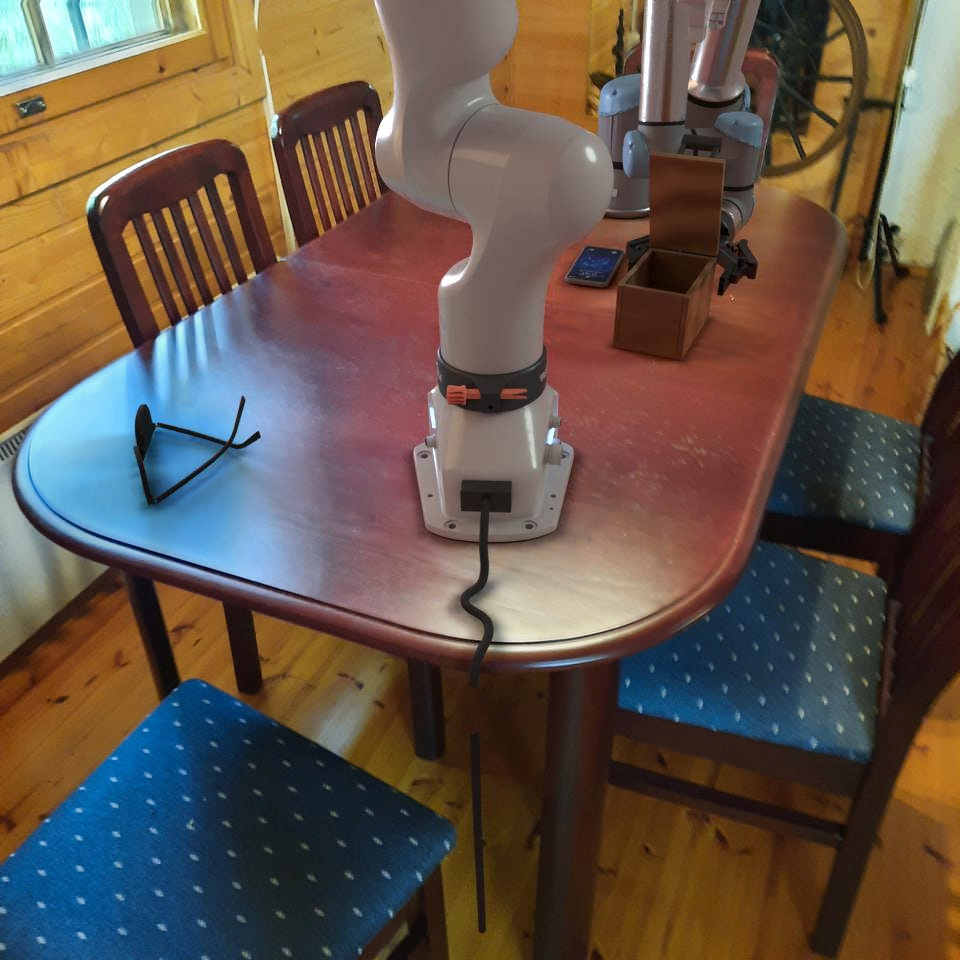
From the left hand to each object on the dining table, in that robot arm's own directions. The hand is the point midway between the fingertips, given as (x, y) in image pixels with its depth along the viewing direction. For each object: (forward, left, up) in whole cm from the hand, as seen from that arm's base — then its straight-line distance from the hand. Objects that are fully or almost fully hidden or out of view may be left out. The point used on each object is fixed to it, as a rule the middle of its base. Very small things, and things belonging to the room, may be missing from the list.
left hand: (706, 35), depth 106 cm
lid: (-1, 0, -21) cm, 21 cm away
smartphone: (+18, +10, -38) cm, 44 cm away
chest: (-5, +2, -38) cm, 39 cm away
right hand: (-1, +1, -32) cm, 32 cm away
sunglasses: (-37, +61, -38) cm, 81 cm away
